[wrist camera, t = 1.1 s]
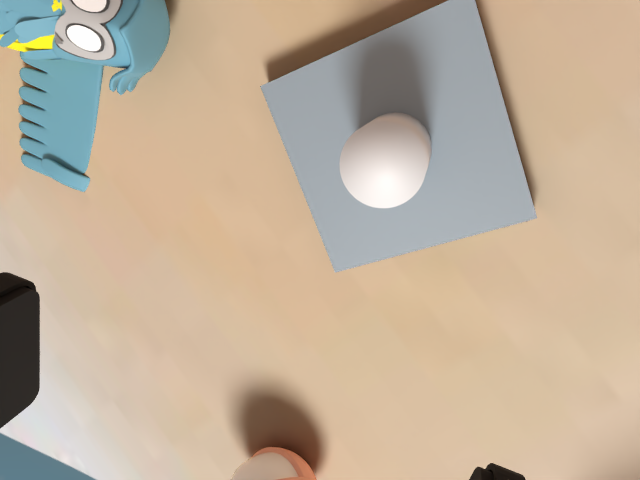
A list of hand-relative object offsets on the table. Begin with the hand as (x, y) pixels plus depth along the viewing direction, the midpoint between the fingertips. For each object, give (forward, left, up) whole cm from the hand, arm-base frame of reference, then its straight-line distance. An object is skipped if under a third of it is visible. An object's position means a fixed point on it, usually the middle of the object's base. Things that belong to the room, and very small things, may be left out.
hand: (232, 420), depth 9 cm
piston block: (-1, -1, -23) cm, 23 cm away
